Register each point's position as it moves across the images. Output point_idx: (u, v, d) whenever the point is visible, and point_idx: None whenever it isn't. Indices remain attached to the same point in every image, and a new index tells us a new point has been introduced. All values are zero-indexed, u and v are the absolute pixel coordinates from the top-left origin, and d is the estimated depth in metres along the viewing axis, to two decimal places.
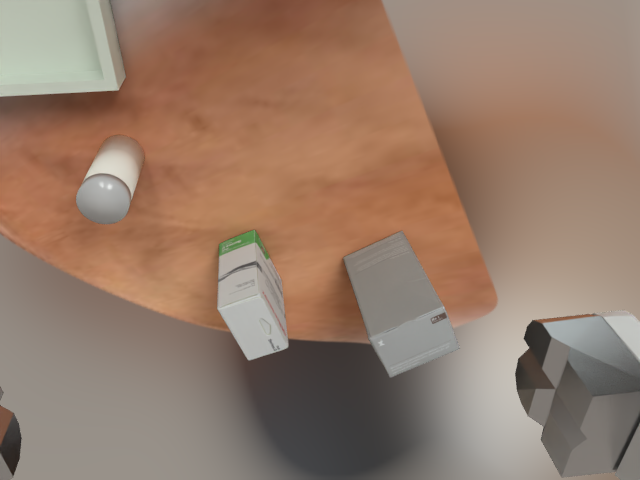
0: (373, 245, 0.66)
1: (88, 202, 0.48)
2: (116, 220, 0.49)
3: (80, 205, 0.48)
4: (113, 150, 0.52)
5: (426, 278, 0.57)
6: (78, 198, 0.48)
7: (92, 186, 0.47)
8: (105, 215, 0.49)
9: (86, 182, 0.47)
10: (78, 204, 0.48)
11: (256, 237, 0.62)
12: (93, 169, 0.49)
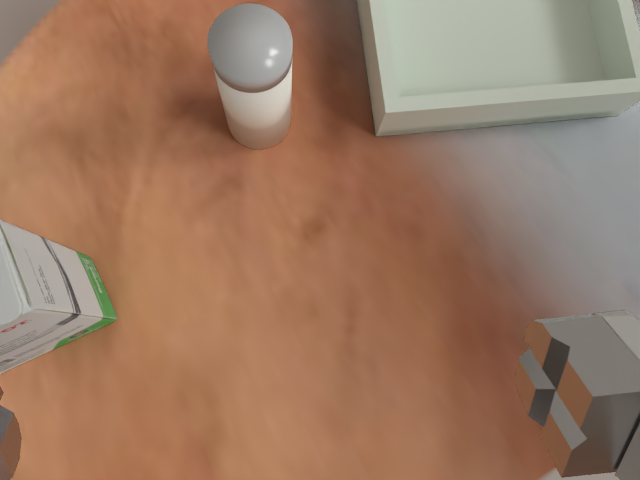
0: None
1: (251, 20, 0.29)
2: (214, 57, 0.28)
3: (244, 7, 0.29)
4: None
5: None
6: (258, 7, 0.29)
7: (281, 30, 0.29)
8: (225, 42, 0.28)
9: None
10: (247, 5, 0.29)
11: (106, 321, 0.34)
12: None
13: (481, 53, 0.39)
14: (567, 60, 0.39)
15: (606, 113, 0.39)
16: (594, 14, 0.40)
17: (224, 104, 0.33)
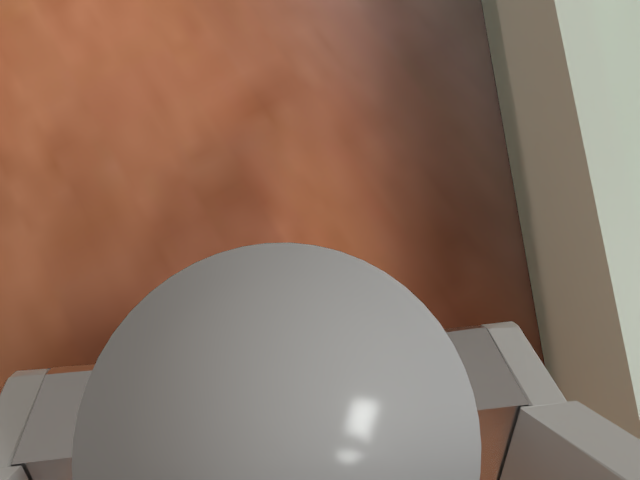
0: None
1: (290, 327, 0.06)
2: None
3: (256, 265, 0.06)
4: None
5: None
6: (319, 262, 0.06)
7: (427, 379, 0.06)
8: (160, 450, 0.06)
9: None
10: (268, 254, 0.06)
11: None
12: None
13: None
14: None
15: None
16: None
17: None
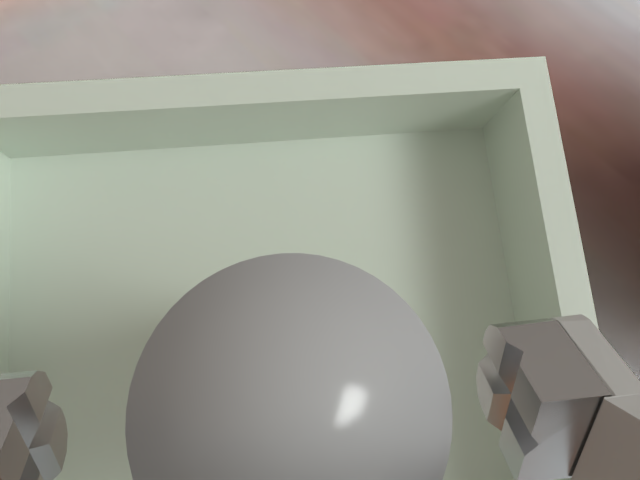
0: None
1: (299, 322, 0.08)
2: None
3: (271, 271, 0.08)
4: None
5: None
6: (322, 269, 0.08)
7: (409, 363, 0.08)
8: (195, 419, 0.07)
9: None
10: (281, 262, 0.08)
11: None
12: None
13: None
14: None
15: None
16: None
17: None
